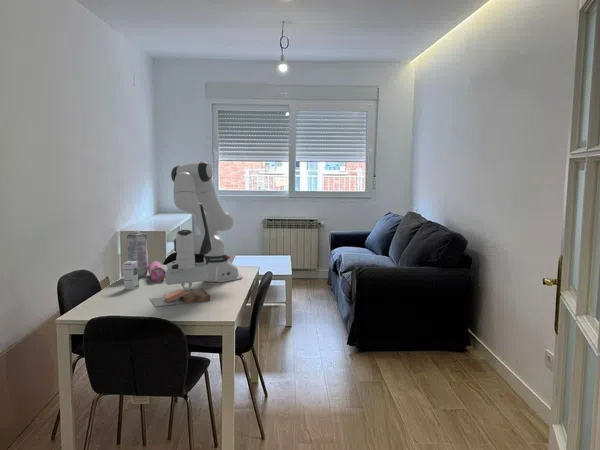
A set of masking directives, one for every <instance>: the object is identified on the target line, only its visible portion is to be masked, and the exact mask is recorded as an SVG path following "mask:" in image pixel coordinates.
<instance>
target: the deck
mask: <svg viewBox="0 0 600 450" xmlns="http://www.w3.org/2000/svg"><path fill="white" fill-rule="evenodd" d="M185 294H186V295H184V296H182V297H180V298H181V299H182V300H183V301H184V302H185V304H190V303H191V304H192V303H200V302H201V303H202V302H207V301H211V295H210V294H209V293H208V292H207V291H205V289H203V287H202V288H201V287H200V288H190V292H185Z"/></svg>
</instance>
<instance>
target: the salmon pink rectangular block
mask: <svg viewBox="0 0 600 450" xmlns="http://www.w3.org/2000/svg"><path fill="white" fill-rule="evenodd" d="M184 295H186V294H185V292H184V290H183V288H179V289H176V290H174V291H171V292H170V293H167V294H164V295H163V297H165V299H166V301H167V302H170V301H172V300H175V299H177V298H179V297H182V296H184Z"/></svg>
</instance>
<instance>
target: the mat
mask: <svg viewBox="0 0 600 450" xmlns="http://www.w3.org/2000/svg"><path fill="white" fill-rule="evenodd" d="M149 300H150V302H151V303H152V305H153V307H155V308H160V307H168V306H174V305H175V306H177V305H182V304H183V305H184V304H186V303H185V302H184V301H183V300H182V299H181V298H180V297H179V298H177V299H175V300H172V301H170V302H167V301H166V299H165V297H164V296H162V297H152V298H149Z"/></svg>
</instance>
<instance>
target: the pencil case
mask: <svg viewBox="0 0 600 450" xmlns="http://www.w3.org/2000/svg"><path fill="white" fill-rule="evenodd" d="M147 273H148V274H149V276H150V279H151V280H152V282H154V283H158V282H159V283H160V282H162V281H163V280H165V273H166V270H165V268H164V265H163V264H162V262H160V261H158V260H153V261H151V262H149V263H148V272H147Z"/></svg>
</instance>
